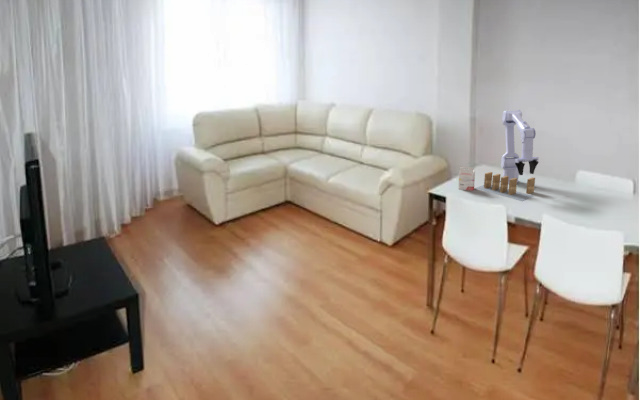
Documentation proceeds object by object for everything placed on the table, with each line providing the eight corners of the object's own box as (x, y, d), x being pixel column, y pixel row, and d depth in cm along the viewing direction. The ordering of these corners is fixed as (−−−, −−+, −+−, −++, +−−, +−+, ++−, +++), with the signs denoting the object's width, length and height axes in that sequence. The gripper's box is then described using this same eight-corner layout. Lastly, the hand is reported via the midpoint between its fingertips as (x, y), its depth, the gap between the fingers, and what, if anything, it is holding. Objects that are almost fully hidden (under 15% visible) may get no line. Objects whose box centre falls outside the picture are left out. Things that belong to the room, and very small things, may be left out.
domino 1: (483, 187, 286) (484, 173, 283) (489, 186, 289) (490, 171, 286) (486, 188, 285) (487, 174, 282) (491, 186, 288) (492, 172, 285)
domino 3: (499, 192, 278) (501, 177, 275) (505, 190, 281) (506, 175, 277) (502, 192, 277) (503, 178, 274) (507, 190, 279) (508, 176, 276)
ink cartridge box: (474, 189, 287) (475, 165, 282) (472, 191, 283) (474, 167, 278) (459, 187, 291) (461, 164, 286) (458, 189, 287) (459, 166, 282)
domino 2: (491, 190, 282) (492, 175, 279) (496, 188, 285) (498, 173, 282) (494, 190, 281) (495, 176, 278) (499, 188, 284) (500, 174, 280)
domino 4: (508, 194, 274) (509, 179, 271) (513, 192, 276) (514, 177, 273) (510, 195, 272) (512, 180, 269) (515, 193, 275) (517, 178, 272)
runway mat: (487, 184, 293) (487, 183, 293) (534, 196, 269) (534, 196, 269) (475, 188, 287) (475, 188, 287) (521, 202, 263) (522, 201, 263)
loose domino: (526, 194, 274) (527, 179, 271) (531, 192, 277) (532, 177, 274) (528, 194, 273) (530, 179, 270) (533, 192, 276) (535, 177, 273)
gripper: (522, 151, 260) (521, 176, 262) (543, 149, 264) (541, 174, 267) (512, 150, 266) (511, 174, 269) (533, 148, 271) (532, 172, 274)
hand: (526, 174), depth 268 cm, fingers open, 7 cm apart
